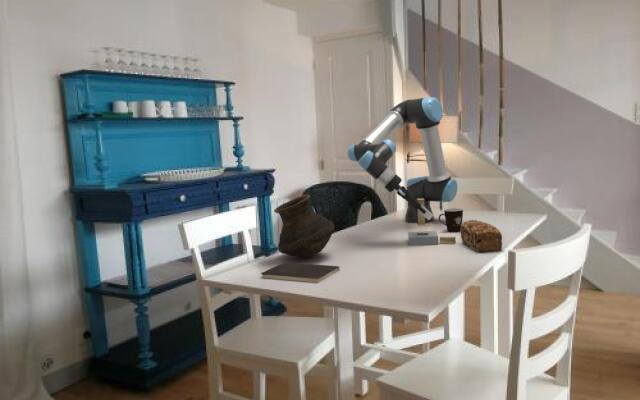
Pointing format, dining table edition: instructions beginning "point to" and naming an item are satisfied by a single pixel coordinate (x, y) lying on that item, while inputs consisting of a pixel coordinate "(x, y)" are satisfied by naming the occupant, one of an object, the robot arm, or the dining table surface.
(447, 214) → the coffee mug
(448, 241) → the short oak peg
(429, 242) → the socket block
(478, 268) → the dining table surface
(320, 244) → the ceramic pot
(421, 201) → the long oak peg
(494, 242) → the bread
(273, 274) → the hardcover book
